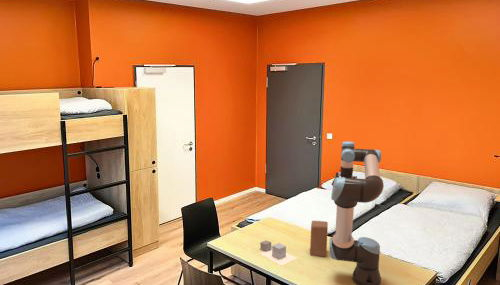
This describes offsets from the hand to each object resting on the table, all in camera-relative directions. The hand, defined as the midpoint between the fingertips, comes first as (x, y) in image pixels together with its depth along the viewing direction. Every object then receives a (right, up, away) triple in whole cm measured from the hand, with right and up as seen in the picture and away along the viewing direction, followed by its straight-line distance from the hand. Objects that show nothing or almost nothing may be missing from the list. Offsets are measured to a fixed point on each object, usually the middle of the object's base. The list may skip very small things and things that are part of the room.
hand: (345, 199), depth 240 cm
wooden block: (-16, -35, +4) cm, 38 cm away
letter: (-42, -35, -1) cm, 55 cm away
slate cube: (-42, -35, -2) cm, 54 cm away
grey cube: (-49, -33, +7) cm, 60 cm away
